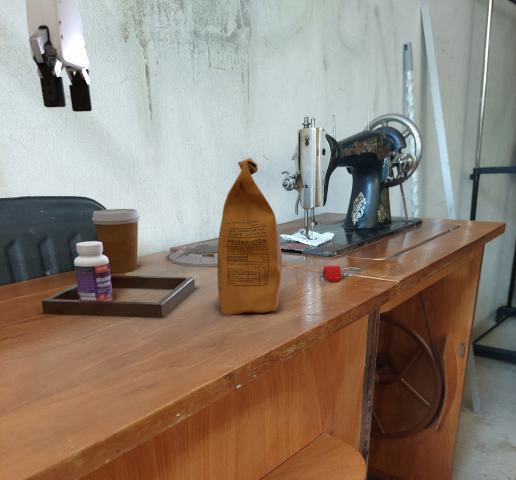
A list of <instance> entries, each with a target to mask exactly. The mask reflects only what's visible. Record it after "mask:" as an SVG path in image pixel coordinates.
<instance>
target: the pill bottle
mask: <svg viewBox="0 0 516 480" xmlns="http://www.w3.org/2000/svg"><path fill="white" fill-rule="evenodd" d="M75 246H76V253H77V254H78V256H77V257H75V259H74V260H73V266H74V273H75V278H76V279H75V281H76V283H77V287H78V295H79V298H78V300H92V301H113V298H114V295H113V294H114V293H113V288H112V285H111V277H110V275H111V272H110V268H109V260H108V258H107V257H106V256H105V255H103V254H102V252H103V246H102V242H99V241H97V240H91V241H81V242H77V243H76V244H75Z"/></svg>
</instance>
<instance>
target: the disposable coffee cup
mask: <svg viewBox="0 0 516 480" xmlns="http://www.w3.org/2000/svg"><path fill="white" fill-rule="evenodd" d="M140 217H141V216H140V215H139V213H138V210H137V209H135V208H110V209H109V208H107V209H100V210H95V211H92V218H91V221H92V222H93V224H94V226H95V227H94V228H95V231H96V235H97V238H98V239H97V240H98V242H102V246H103V252H102V255H105V256H106V257H107V258H108V260H109V268H110V273H116V274H119V273H129V272H134V271H136V270H138V247H139V246H138V244H139V243H138V242H139V240H138V239H139V222H140Z"/></svg>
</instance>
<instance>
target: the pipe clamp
mask: <svg viewBox="0 0 516 480" xmlns="http://www.w3.org/2000/svg"><path fill="white" fill-rule="evenodd" d="M341 271H342V270H341V266H340V265H324V266H323V276H325V277H324V278H325V281H327V282H329V283H339V282H340V281H341V279H342V272H341Z"/></svg>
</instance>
